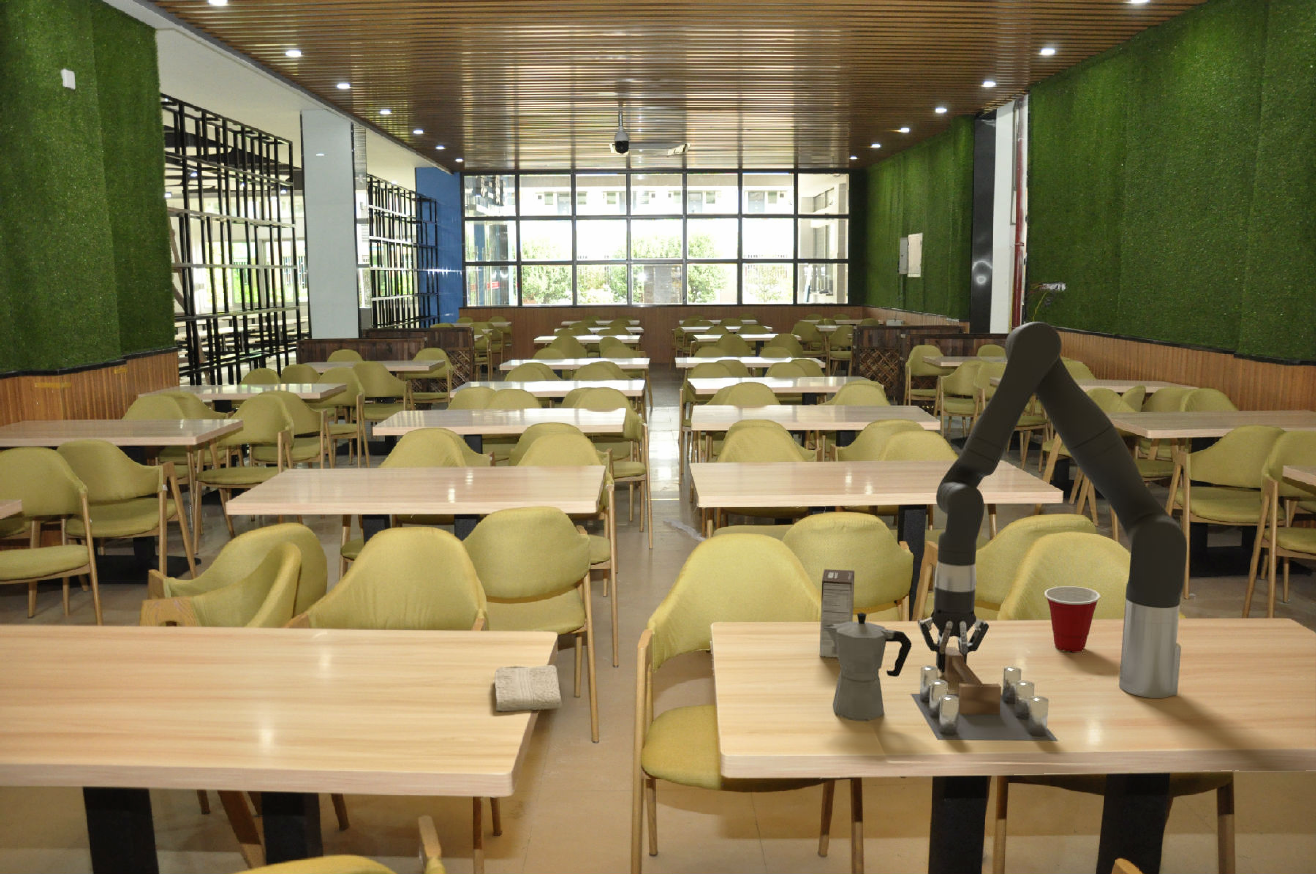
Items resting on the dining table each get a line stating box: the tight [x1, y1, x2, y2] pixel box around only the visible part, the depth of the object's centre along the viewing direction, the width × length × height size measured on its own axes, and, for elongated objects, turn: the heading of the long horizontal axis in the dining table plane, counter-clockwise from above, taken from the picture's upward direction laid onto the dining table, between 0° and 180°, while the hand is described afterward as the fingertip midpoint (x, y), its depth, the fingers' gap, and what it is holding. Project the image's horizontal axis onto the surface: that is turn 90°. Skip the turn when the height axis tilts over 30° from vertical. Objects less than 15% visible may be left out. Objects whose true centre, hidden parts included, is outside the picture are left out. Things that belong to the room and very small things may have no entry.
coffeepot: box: [824, 612, 912, 722], centre depth 191 cm, size 15×9×18 cm, turn 66°
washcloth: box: [494, 664, 563, 712], centre depth 200 cm, size 12×18×3 cm, turn 10°
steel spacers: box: [919, 664, 1049, 737], centre depth 190 cm, size 18×17×6 cm
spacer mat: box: [910, 693, 1059, 742], centre depth 190 cm, size 20×20×1 cm
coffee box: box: [819, 568, 856, 658], centre depth 223 cm, size 9×6×16 cm
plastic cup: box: [1044, 585, 1101, 653], centre depth 226 cm, size 11×11×12 cm
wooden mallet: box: [938, 646, 1002, 714], centre depth 201 cm, size 7×22×5 cm, turn 0°
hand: (950, 670), depth 210 cm, fingers closed on wooden mallet, 3 cm apart
